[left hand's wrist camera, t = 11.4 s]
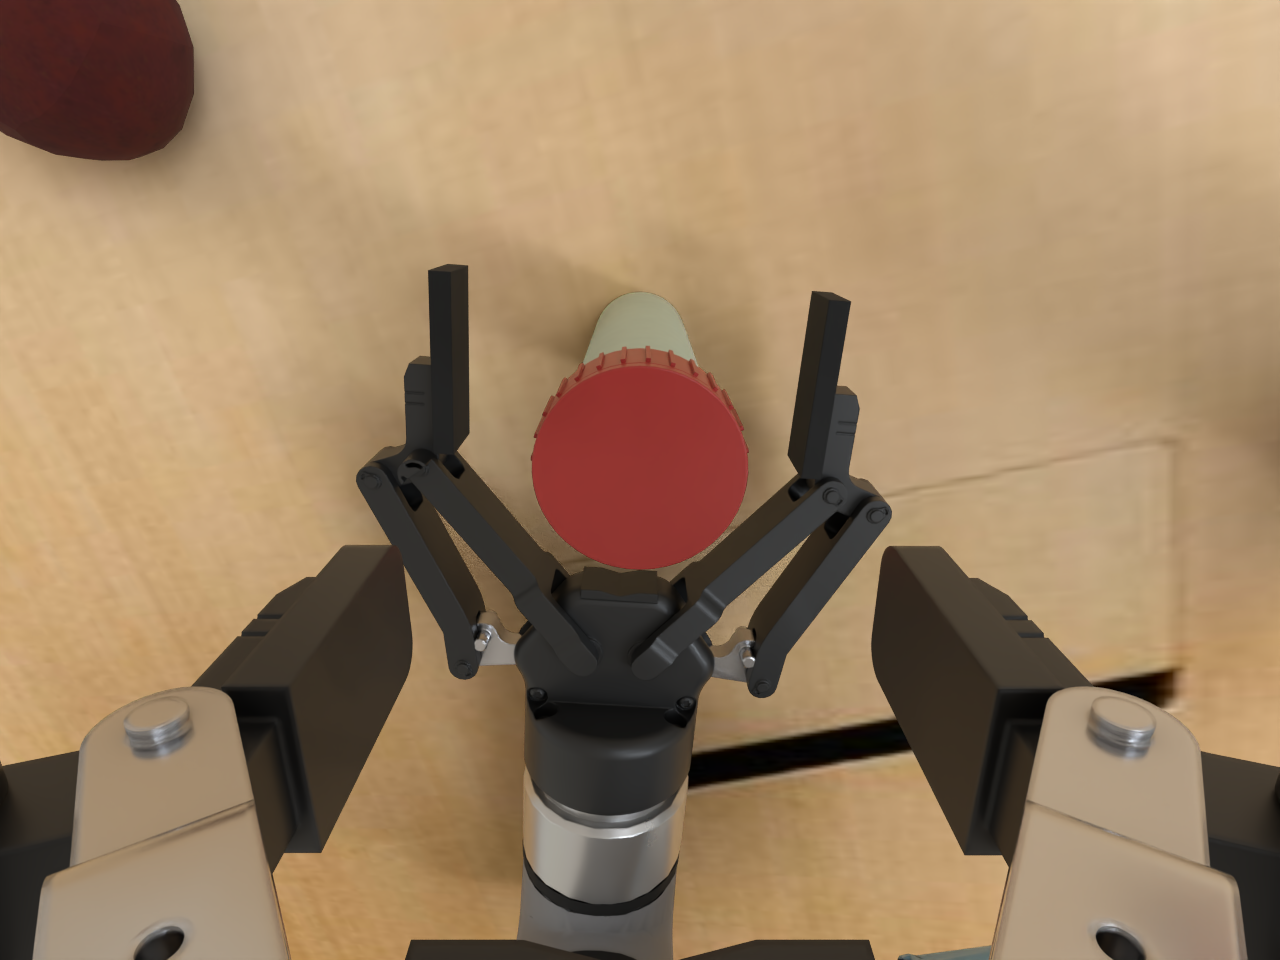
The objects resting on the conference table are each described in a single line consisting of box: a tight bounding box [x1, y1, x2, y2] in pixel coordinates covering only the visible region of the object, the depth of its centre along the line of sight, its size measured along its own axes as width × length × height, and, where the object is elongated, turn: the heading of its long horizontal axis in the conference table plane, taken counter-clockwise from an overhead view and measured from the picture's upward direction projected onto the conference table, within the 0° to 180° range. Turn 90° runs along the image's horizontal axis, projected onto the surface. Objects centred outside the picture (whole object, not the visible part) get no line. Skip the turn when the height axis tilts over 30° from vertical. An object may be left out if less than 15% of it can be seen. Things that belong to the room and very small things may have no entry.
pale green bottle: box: [583, 292, 698, 366], centre depth 25 cm, size 4×4×17 cm
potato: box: [0, 0, 194, 160], centre depth 26 cm, size 7×8×7 cm
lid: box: [531, 346, 749, 570], centre depth 18 cm, size 5×5×2 cm
